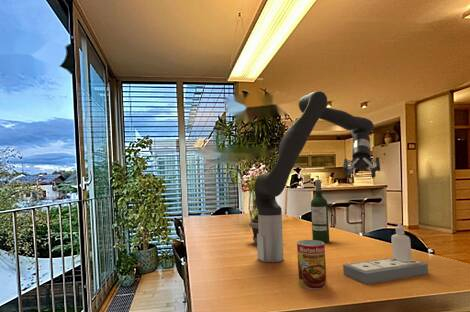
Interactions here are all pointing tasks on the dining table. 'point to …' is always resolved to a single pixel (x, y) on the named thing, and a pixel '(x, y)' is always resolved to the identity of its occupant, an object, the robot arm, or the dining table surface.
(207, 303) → the dining table surface
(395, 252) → the eye dropper bottle
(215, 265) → the dining table surface
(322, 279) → the canned food
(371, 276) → the tile board
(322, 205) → the wine bottle
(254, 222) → the flowerpot
